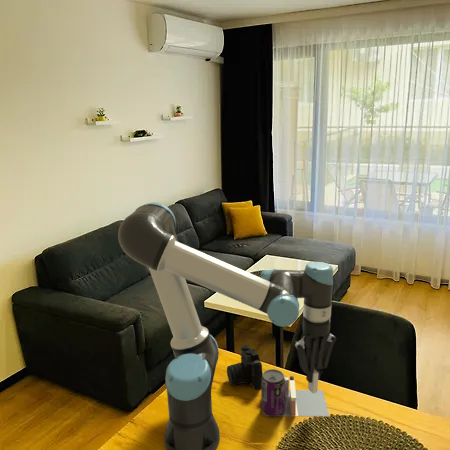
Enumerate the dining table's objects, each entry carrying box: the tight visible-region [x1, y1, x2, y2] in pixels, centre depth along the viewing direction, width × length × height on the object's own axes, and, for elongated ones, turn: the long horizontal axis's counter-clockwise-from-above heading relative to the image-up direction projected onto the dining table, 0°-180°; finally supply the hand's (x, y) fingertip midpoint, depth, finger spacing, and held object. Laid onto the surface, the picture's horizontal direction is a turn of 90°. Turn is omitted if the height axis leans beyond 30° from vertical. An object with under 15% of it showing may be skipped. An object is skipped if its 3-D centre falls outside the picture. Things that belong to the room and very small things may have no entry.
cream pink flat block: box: [289, 379, 297, 417], centre depth 130 cm, size 8×2×6 cm, turn 174°
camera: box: [226, 344, 264, 390], centre depth 144 cm, size 14×11×10 cm
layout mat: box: [263, 389, 330, 417], centre depth 133 cm, size 19×12×1 cm, turn 87°
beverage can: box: [260, 368, 285, 417], centre depth 128 cm, size 7×7×12 cm
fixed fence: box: [284, 375, 295, 396], centre depth 136 cm, size 9×2×6 cm, turn 87°
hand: (312, 390), depth 127 cm, fingers closed
